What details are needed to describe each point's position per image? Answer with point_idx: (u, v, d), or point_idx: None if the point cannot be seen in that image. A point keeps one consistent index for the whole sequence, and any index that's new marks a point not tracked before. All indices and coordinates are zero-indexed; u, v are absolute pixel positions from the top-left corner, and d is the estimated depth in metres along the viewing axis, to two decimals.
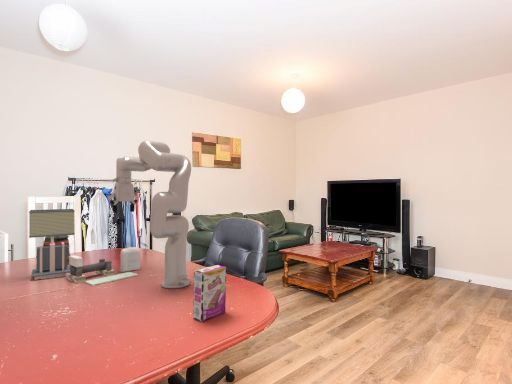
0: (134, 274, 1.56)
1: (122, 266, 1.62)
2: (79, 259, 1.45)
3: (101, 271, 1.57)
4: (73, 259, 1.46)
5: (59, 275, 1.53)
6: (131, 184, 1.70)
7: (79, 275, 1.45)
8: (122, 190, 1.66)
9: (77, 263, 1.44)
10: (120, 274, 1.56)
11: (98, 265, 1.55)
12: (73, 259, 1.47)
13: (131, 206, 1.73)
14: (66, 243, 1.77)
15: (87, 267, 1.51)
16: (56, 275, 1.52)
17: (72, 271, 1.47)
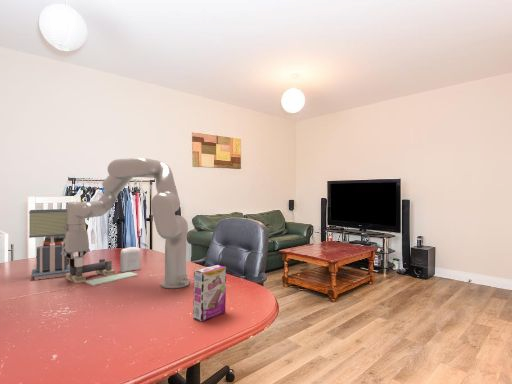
0: (134, 274, 1.56)
1: (122, 266, 1.62)
2: (79, 259, 1.45)
3: (101, 271, 1.57)
4: None
5: (59, 275, 1.53)
6: (85, 231, 1.49)
7: (79, 275, 1.45)
8: (73, 240, 1.44)
9: (77, 263, 1.44)
10: (120, 274, 1.56)
11: (97, 264, 1.55)
12: None
13: None
14: None
15: (86, 266, 1.51)
16: (56, 275, 1.52)
17: (71, 271, 1.47)
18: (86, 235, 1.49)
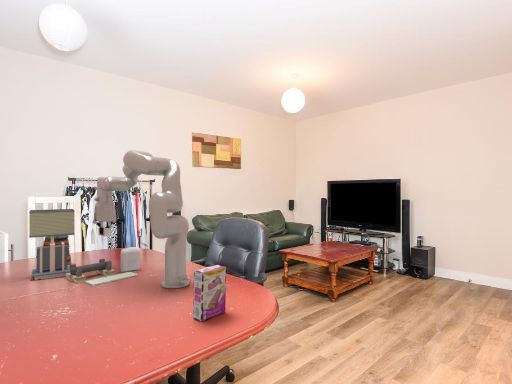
0: (134, 274, 1.56)
1: (122, 266, 1.62)
2: (108, 229, 1.65)
3: (101, 271, 1.57)
4: None
5: (59, 275, 1.53)
6: (112, 203, 1.68)
7: (79, 275, 1.45)
8: (102, 210, 1.64)
9: (106, 233, 1.64)
10: (120, 274, 1.56)
11: (97, 264, 1.55)
12: None
13: None
14: (66, 243, 1.77)
15: (86, 266, 1.51)
16: (56, 275, 1.52)
17: (71, 271, 1.47)
18: (113, 207, 1.68)
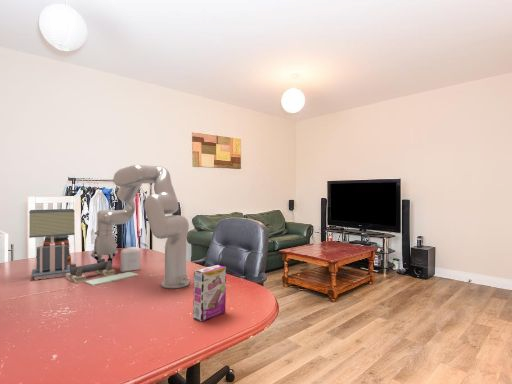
0: (134, 274, 1.56)
1: (122, 266, 1.62)
2: None
3: (101, 271, 1.57)
4: None
5: (59, 275, 1.53)
6: (112, 236, 1.68)
7: (79, 275, 1.45)
8: (103, 244, 1.64)
9: None
10: (120, 274, 1.56)
11: (97, 264, 1.55)
12: None
13: (109, 260, 1.69)
14: (66, 243, 1.77)
15: (86, 266, 1.51)
16: (56, 275, 1.52)
17: (71, 271, 1.47)
18: (113, 240, 1.69)
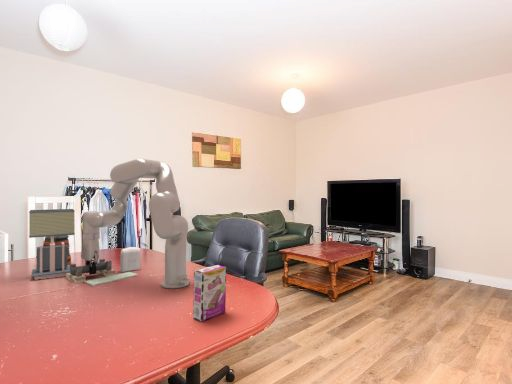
0: (134, 274, 1.56)
1: (122, 266, 1.62)
2: None
3: (101, 271, 1.57)
4: None
5: (59, 275, 1.53)
6: (88, 241, 1.49)
7: (79, 275, 1.45)
8: (83, 247, 1.53)
9: None
10: (120, 274, 1.56)
11: (98, 265, 1.55)
12: None
13: None
14: (66, 243, 1.77)
15: (87, 267, 1.51)
16: (56, 275, 1.52)
17: (72, 271, 1.47)
18: (88, 245, 1.49)
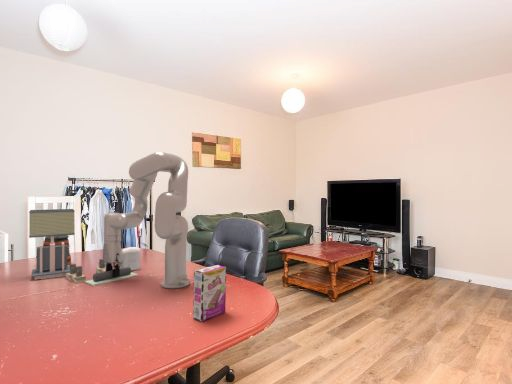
0: (134, 274, 1.56)
1: (122, 266, 1.62)
2: None
3: (101, 271, 1.57)
4: None
5: (59, 275, 1.53)
6: (110, 243, 1.46)
7: (79, 275, 1.45)
8: (104, 249, 1.49)
9: None
10: None
11: (120, 271, 1.52)
12: None
13: None
14: (66, 243, 1.77)
15: (109, 273, 1.47)
16: (56, 275, 1.52)
17: (94, 277, 1.43)
18: (111, 248, 1.46)
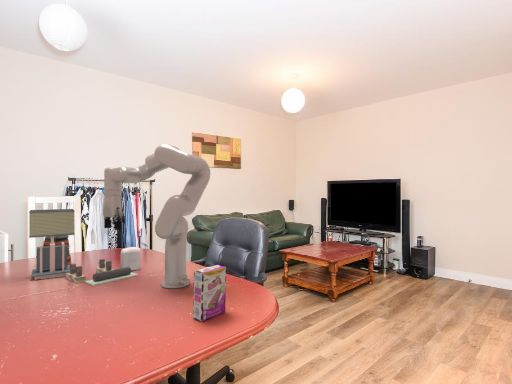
0: (134, 274, 1.56)
1: (122, 266, 1.62)
2: None
3: (101, 271, 1.57)
4: None
5: (59, 275, 1.53)
6: (110, 197, 1.46)
7: (79, 275, 1.45)
8: (104, 204, 1.49)
9: None
10: None
11: (119, 270, 1.52)
12: None
13: None
14: (66, 243, 1.77)
15: (109, 272, 1.48)
16: (56, 275, 1.52)
17: (94, 277, 1.43)
18: (111, 201, 1.46)
